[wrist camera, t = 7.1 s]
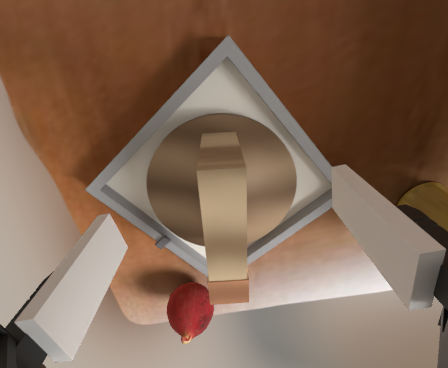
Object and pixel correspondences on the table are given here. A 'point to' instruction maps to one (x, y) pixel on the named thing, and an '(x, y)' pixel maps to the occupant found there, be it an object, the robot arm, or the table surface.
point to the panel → (210, 104)
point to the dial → (222, 192)
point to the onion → (189, 310)
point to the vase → (429, 201)
